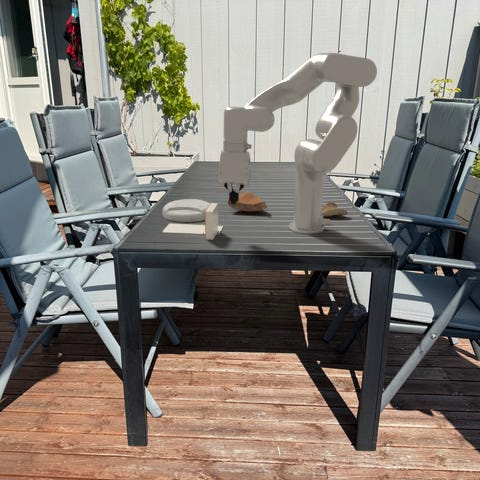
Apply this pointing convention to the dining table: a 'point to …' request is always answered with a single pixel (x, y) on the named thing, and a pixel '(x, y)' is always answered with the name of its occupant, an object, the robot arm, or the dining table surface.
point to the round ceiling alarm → (185, 210)
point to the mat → (187, 228)
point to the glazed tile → (211, 221)
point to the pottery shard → (332, 210)
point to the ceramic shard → (248, 203)
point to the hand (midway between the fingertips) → (233, 203)
